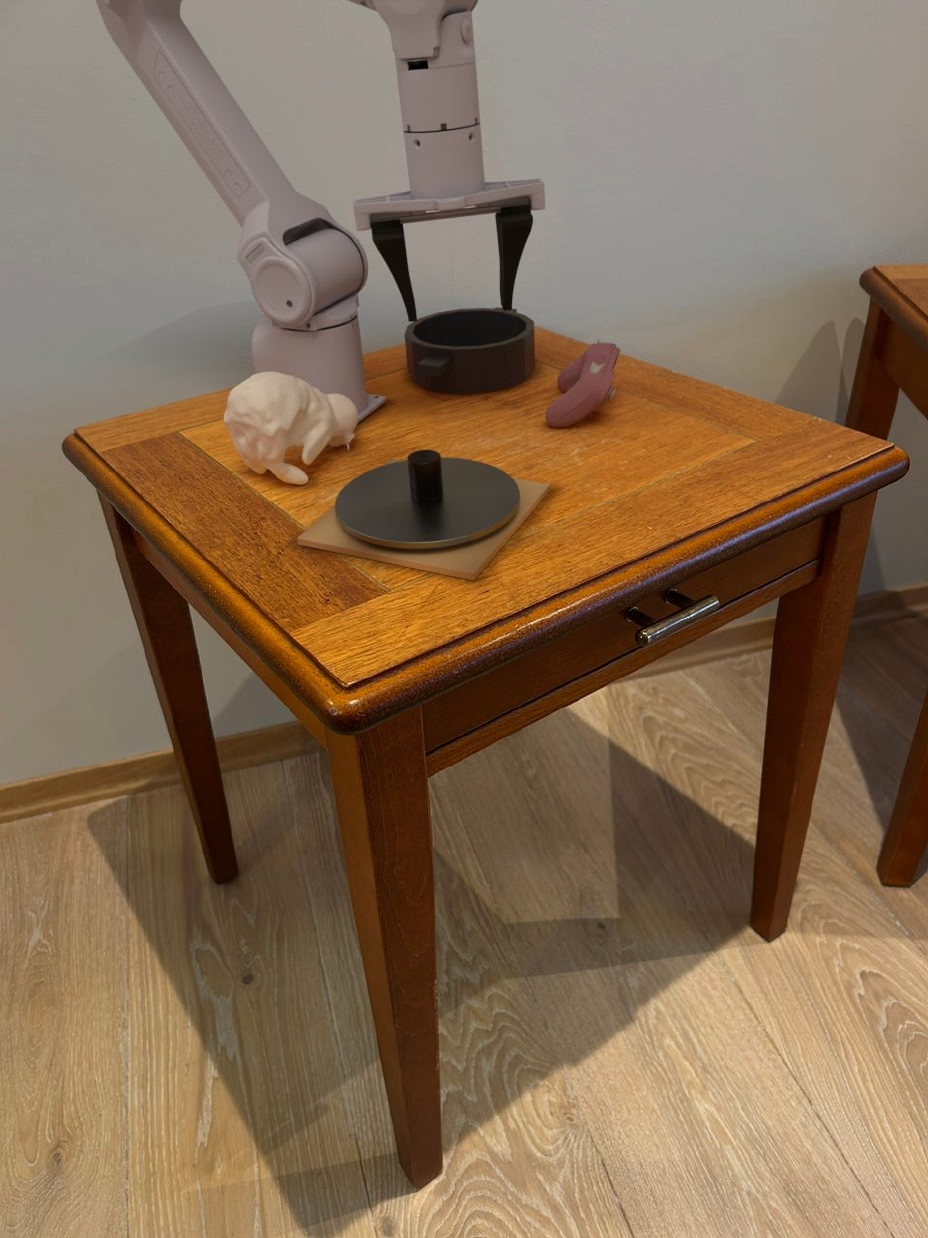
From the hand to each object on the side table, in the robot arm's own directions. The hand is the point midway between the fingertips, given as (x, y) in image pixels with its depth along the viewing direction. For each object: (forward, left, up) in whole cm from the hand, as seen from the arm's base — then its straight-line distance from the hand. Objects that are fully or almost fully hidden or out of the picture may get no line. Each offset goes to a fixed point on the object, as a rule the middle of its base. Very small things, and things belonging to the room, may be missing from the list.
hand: (459, 312), depth 79 cm
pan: (-6, +14, -10) cm, 18 cm away
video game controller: (+8, +8, -11) cm, 16 cm away
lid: (+4, -15, -9) cm, 18 cm away
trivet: (+4, -15, -10) cm, 19 cm away
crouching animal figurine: (-10, -10, -11) cm, 18 cm away
